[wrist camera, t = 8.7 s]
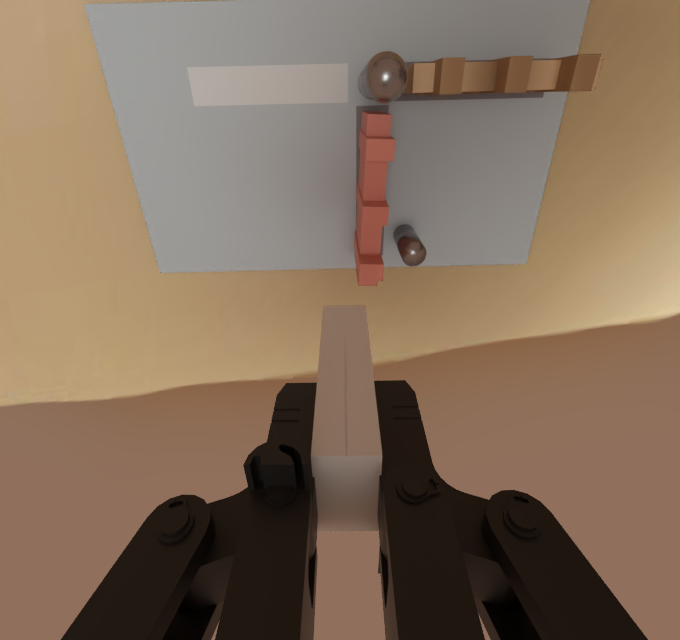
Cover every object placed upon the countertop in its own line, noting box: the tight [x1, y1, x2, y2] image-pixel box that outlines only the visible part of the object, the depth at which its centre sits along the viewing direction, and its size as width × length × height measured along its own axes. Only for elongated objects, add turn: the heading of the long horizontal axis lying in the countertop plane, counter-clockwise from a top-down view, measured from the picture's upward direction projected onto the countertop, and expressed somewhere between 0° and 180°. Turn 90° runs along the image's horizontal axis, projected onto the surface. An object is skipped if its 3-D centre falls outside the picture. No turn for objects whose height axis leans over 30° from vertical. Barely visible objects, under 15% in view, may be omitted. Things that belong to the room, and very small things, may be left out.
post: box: [358, 51, 408, 103], centre depth 20 cm, size 2×2×8 cm
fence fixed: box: [402, 54, 604, 95], centre depth 20 cm, size 9×1×6 cm, turn 91°
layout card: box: [84, 0, 590, 273], centre depth 25 cm, size 28×16×1 cm, turn 91°
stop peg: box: [393, 224, 427, 266], centre depth 26 cm, size 2×2×4 cm
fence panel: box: [354, 111, 396, 286], centre depth 23 cm, size 10×1×6 cm, turn 178°
